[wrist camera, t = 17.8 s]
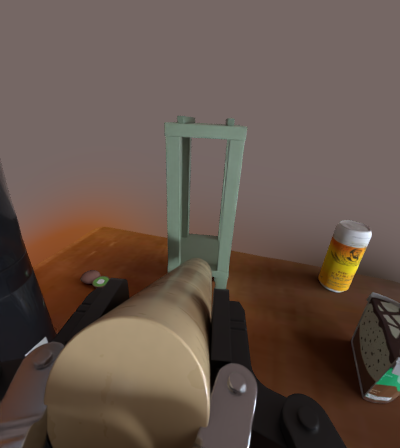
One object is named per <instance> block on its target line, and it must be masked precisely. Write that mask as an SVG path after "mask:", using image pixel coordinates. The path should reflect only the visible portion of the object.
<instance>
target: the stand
mask: <svg viewBox="0 0 400 448" xmlns="http://www.w3.org/2000/svg"><path fill="white" fill-rule="evenodd" d="M164 127H165V136H166V177H167V222H168V223H167V224H168V225H167V227H168V273H169V272H170V271H172V270H173V269H175V268H176V267H178V266H179V265H181V264H182V263H184V262H185V261H187V260H189V259H192V258H200V259H202V260H204V261H206V262H207V263H208V265H209V266H210V268H211V271H212V277H214V281H215V288H217V289H226V284H227V278H228V274H229V261H230V253H231V244H232V237H233V229H234V221H235V213H236V204H237V197H238V190H239V182H240V174H241V166H242V158H243V150H244V142H245V140H246V133H247V127H245V126H240V125H234V119H226V125H223V124H204V123H195V118H193V117H185V116H178V117H177V122H176V123H174V122H173V123H164ZM192 137H194V138H213V139H227V147H226V159H225V169H224V179H223V190H222V200H221V211H220V222H219V232H218V236H210V235H198V234H189V212H190V210H189V209H190V176H191V175H190V173H191V140H192V139H191V138H192Z"/></svg>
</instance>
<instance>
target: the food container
mask: <svg viewBox="0 0 400 448" xmlns="http://www.w3.org/2000/svg"><path fill="white" fill-rule="evenodd" d="M367 301H368V303H367V305H366V307H365V309H364V312H363V314H362V316H361V319H360V321H359V323H358V325H357V328H356V330H355V332H354V335H353V337H352V339H351V345H352V350H353V354H354V359H355V364H356V369H357V374H358V379H359V384H360V389H361V393H362V398H363V399H365V400H367V401H370V402H374V403H387V402H390V401H393V400H394V399H395V398H396V397H398V396H399V395H400V303H398V302H396V301H394V300H392V299H390V298H388V297H385V296H383V295H380V294H377V293H374V292H372V294H370V295H369V297H368V298H367Z"/></svg>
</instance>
